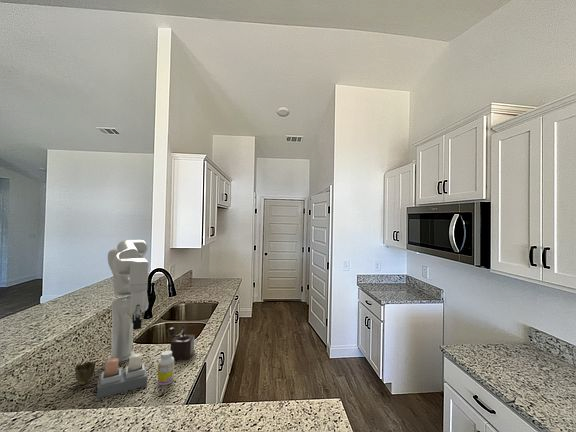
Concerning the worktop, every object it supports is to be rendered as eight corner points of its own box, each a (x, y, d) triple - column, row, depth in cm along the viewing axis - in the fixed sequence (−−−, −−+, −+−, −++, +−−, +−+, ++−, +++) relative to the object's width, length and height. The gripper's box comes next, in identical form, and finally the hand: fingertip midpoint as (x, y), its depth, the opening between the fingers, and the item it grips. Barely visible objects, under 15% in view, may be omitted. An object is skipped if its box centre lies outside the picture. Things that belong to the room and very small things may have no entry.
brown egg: (105, 371, 117) (105, 359, 117) (118, 368, 120) (118, 357, 120) (104, 376, 113) (105, 364, 113) (117, 373, 116) (118, 361, 116)
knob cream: (128, 366, 122) (129, 354, 122) (140, 363, 124) (141, 352, 125) (129, 370, 118) (129, 359, 118) (141, 368, 120) (142, 356, 121)
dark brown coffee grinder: (174, 351, 151) (175, 319, 152) (194, 351, 152) (195, 318, 154) (164, 365, 136) (166, 329, 137) (187, 364, 137) (188, 328, 138)
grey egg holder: (99, 384, 119) (99, 370, 119) (144, 373, 128) (145, 360, 129) (96, 398, 109) (97, 383, 109) (146, 385, 118) (147, 371, 118)
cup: (92, 377, 124) (92, 359, 125) (97, 383, 120) (98, 364, 120) (71, 384, 119) (72, 365, 119) (76, 390, 114) (77, 371, 114)
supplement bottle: (162, 377, 125) (163, 349, 125) (176, 377, 124) (177, 349, 125) (154, 385, 118) (155, 355, 119) (169, 386, 118) (170, 356, 118)
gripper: (128, 284, 128) (126, 321, 127) (129, 292, 114) (127, 333, 113) (146, 283, 132) (144, 319, 131) (149, 290, 118) (147, 330, 117)
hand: (136, 325), depth 122 cm, fingers open, 8 cm apart
